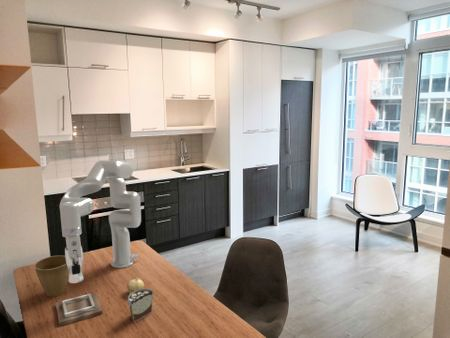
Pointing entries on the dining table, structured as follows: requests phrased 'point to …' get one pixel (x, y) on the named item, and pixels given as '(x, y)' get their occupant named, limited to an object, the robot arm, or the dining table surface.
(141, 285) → the onion
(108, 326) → the dining table surface
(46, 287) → the plant pot
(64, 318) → the holder board
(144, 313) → the food container
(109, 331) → the dining table surface
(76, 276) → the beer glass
